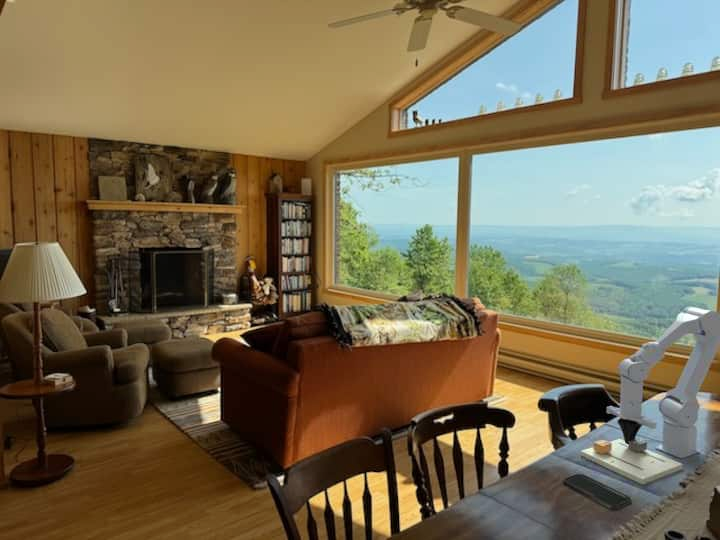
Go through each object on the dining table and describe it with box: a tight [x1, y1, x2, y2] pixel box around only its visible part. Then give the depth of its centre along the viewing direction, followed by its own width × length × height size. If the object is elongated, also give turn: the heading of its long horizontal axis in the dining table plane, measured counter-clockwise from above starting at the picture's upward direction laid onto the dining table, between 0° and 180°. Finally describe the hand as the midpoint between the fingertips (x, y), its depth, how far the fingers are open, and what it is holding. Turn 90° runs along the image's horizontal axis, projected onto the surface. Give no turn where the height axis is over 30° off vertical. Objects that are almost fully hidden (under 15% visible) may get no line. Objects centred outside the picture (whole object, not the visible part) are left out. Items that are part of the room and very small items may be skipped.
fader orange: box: [593, 439, 612, 454], centre depth 146 cm, size 4×3×2 cm
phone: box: [562, 473, 632, 510], centre depth 127 cm, size 8×1×15 cm
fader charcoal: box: [628, 437, 648, 453], centre depth 147 cm, size 4×3×2 cm
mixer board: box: [580, 438, 683, 485], centre depth 143 cm, size 18×19×2 cm
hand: (629, 443), depth 150 cm, fingers closed
